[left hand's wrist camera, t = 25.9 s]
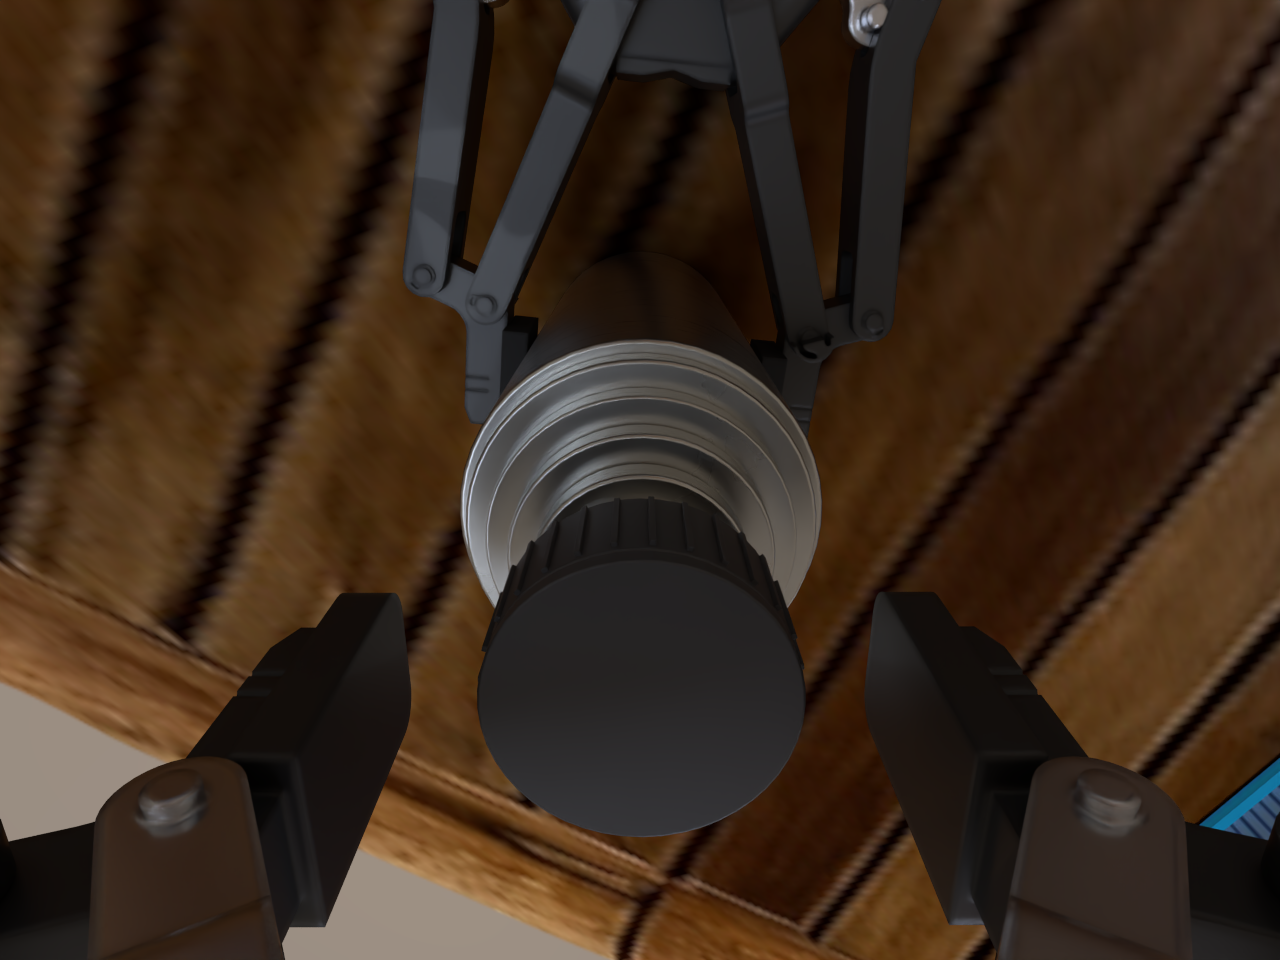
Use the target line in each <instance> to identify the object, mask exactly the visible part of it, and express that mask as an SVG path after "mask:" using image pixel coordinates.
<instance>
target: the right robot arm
mask: <svg viewBox="0 0 1280 960" xmlns="http://www.w3.org/2000/svg"><path fill="white" fill-rule="evenodd" d="M818 1H819V0H561V2H562V4H563V6H564V8H565V9H566V11H567V13H568V15H569V17H570V19H571V21H572V22H573V24H574V26H575V28H574V30H573V33H572V35H571V38H570V40H569V43H568V45H567V47H566V50H565V52H564V55H563V57H562V59H561V62H560V64H559V67H558V70H557V73H556V76H555V79H554V84H553V87H552V90H551V92H550V95H549V97H548V100H547V102H546V104H545V107H544V109H543V112H542V114H541V116H540V119H539V121H538V124H537V126H536V128H535V131H534V133H533V136H532V138H531V141H530V143H529V145H528V148H527V150H526V153H525V155H524V157H523V160H522V162H521V165H520V167H519V169H518V172H517V174H516V177H515V179H514V182H513V184H512V186H511V189H510V191H509V194H508V196H507V198H506V201H505V203H504V206H503V208H502V210H501V213H500V215H499V218H498V220H497V223H496V225H495V227H494V230H493V232H492V235H491V237H490V239H489V242H488V244H487V247H486V249H485V251H484V254H483V256H482V259H481V261H480V264H479V266H477V265H475V264H473V263H471V262H468V261H466V260H464V259H463V254H464V247H465V240H466V233H467V226H468V219H469V212H470V205H471V198H472V191H473V184H474V177H475V171H476V164H477V157H478V150H479V143H480V136H481V129H482V122H483V115H484V108H485V101H486V94H487V87H488V80H489V73H490V66H491V59H492V52H493V42H494V11H493V8H498V7H501V6H503V5H505V4H506V3H508V2H509V0H433V2H434V15H433V23H432V31H431V40H430V48H429V56H428V65H427V73H426V81H425V90H424V98H423V106H422V115H421V123H420V132H419V140H418V148H417V157H416V165H415V173H414V182H413V190H412V198H411V207H410V215H409V223H408V232H407V240H406V249H405V257H404V265H403V280H404V282H405V284H406V286H407V288H408V289H409V290H410V291H411V292H412V293H414V294H416V295H418V296H421V297H431V298H433V299H435V300H437V301H439V302H442V303H444V304H446V305H448V306H450V307H452V308H453V309H455V310H456V311H457V312H458V313H459V314H460V315H461V316H462V318H463V320H464V322H465V325H466V330H467V344H466V380H465V388H466V390H465V409H466V412H467V415H468V417H469V420H470V423H474V424H483V423H484V421H485V420H486V418H487V417H488V415H489V413H490V412H491V410H492V409H493V407H494V405H495V404H496V402H497V401H498V399H499V397H500V396H501V394H502V393H503V391H504V389H505V388H506V386H507V385H508V383H509V381H510V380H511V378H512V377H513V375H514V373H515V372H516V370H517V369H518V367H519V365H520V364H521V362H522V360H523V359H524V357H525V356H526V354H527V352H528V351H529V349H530V348H531V346H532V344H533V343H534V341H535V340H536V338H537V335H538V318H536V317H526V316H516V315H515V316H514V304H515V303H516V302H517V300H518V299H519V298H518V295H519V293H520V291H521V288H522V286H523V284H524V282H525V279H526V277H527V275H528V272H529V270H530V268H531V266H532V263H533V261H534V259H535V256H536V254H537V252H538V250H539V247H540V245H541V243H542V240H543V238H544V236H545V234H546V231H547V229H548V227H549V224H550V222H551V220H552V217H553V215H554V213H555V211H556V208H557V206H558V204H559V201H560V199H561V197H562V195H563V192H564V190H565V188H566V185H567V183H568V181H569V179H570V176H571V174H572V172H573V169H574V167H575V165H576V163H577V160H578V158H579V156H580V153H581V151H582V149H583V146H584V144H585V142H586V140H587V137H588V135H589V133H590V130H591V128H592V126H593V124H594V121H595V119H596V117H597V115H598V113H599V111H600V109H601V107H602V105H603V103H604V101H605V99H606V97H607V94H608V92H609V90H610V88H611V85H612V83H613V81H614V78H615V76H617V78H618V80H626V81H635V82H649V81H655V80H660V79H666V78H674V79H676V80H679V81H681V82H683V83H686V84H688V85H691V86H693V87H695V88H698V89H707V90H716V91H724V90H726V95H727V100H728V105H729V109H730V114H731V118H732V121H733V124H734V127H735V130H736V134H737V139H738V144H739V148H740V153H741V158H742V163H743V168H744V173H745V177H746V182H747V187H748V192H749V197H750V202H751V206H752V211H753V216H754V221H755V226H756V230H757V235H758V240H759V245H760V250H761V255H762V259H763V264H764V269H765V274H766V279H767V284H768V288H769V293H770V298H771V303H772V308H773V313H774V317H775V322H776V327H777V330H778V333H777V339H776V343H775V342H774V341H765V340H755V339H751V344H750V346H751V348H752V350H753V351H754V353H755V354H756V356H757V357H758V359H759V361H760V362H761V364H762V365H763V367H764V369H765V370H766V372H767V373H768V375H769V377H770V378H771V380H772V381H773V383H774V385H775V386H776V388H777V389H778V391H779V392H780V394H781V396H782V397H783V399H784V400H785V402H786V404H787V405H788V407H789V408H790V410H791V412H792V413H793V415H794V416H795V418H796V420H797V422H798V423H799V425H800V427H801V428H802V430H803V432H804V433H805V435H806V437H807V436H808V431H809V425H810V420H811V414H812V408H813V403H814V397H815V392H816V386H817V381H818V375H819V370H820V366H821V362H822V360H824V359H826V358H827V357H828V356H829V355H830V354H831V352H832V350H833V349H834V348H836V347H839V346H841V345H845V344H849V343H853V342H857V341H861V340H864V341H869V342H873V341H878V340H880V339H882V338H883V337H885V336H886V335H887V334H888V332H889V331H890V330H891V328H892V324H893V319H894V308H895V296H896V285H897V274H898V262H899V251H900V240H901V228H902V217H903V206H904V194H905V183H906V171H907V160H908V149H909V137H910V126H911V115H912V103H913V92H914V81H915V69H916V61H917V58H918V56H919V54H920V51H921V49H922V46H923V44H924V42H925V39H926V37H927V34H928V32H929V29H930V27H931V25H932V22H933V20H934V17H935V15H936V12H937V10H938V8H939V5H940V3H941V0H839V1H840V3H841V5H842V11H843V16H842V24H841V31H842V36H843V38H844V40H845V42H846V43H847V44H848V45H849V46H851V47H852V48H854V49H856V52H855V55H854V59H853V64H852V68H851V73H850V80H849V89H848V103H847V119H846V135H845V151H844V167H843V183H842V199H841V215H840V230H839V246H838V262H837V278H836V294H835V297H834V298H830V299H826V300H823V297H822V291H821V286H820V280H819V275H818V270H817V264H816V259H815V253H814V248H813V243H812V237H811V232H810V226H809V221H808V216H807V210H806V205H805V199H804V194H803V189H802V183H801V178H800V172H799V167H798V162H797V156H796V151H795V145H794V140H793V135H792V129H791V124H790V118H789V97H788V90H787V84H786V78H785V73H784V68H783V62H782V57H781V51H780V46H781V45H782V44H783V43H784V41H785V40H786V39H787V38H788V37H789V36H790V34H791V33H792V32H793V31H794V30H795V28H796V27H797V26H798V25H799V24H800V23H801V21H802V20H803V19H804V18H805V17H806V15H807V14H808V13H809V12H810V11H811V10H812V8H813V7H814V6H815V5H816V4H817V2H818Z"/></svg>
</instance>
